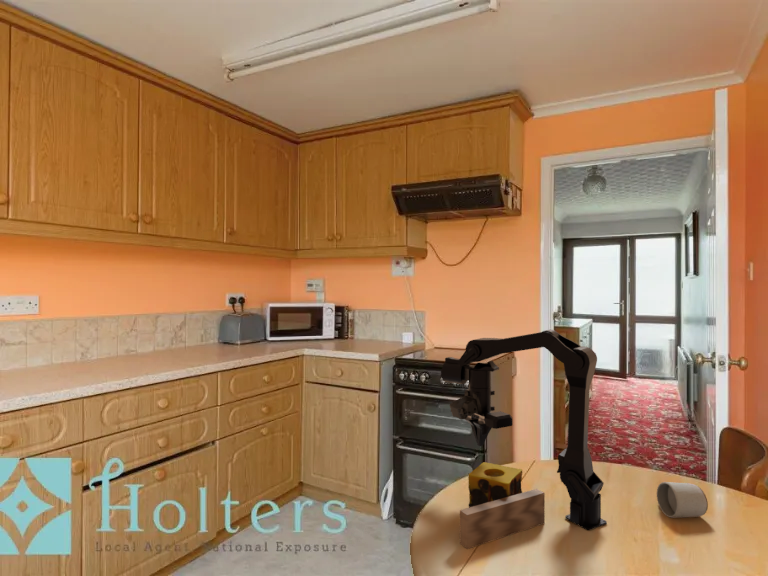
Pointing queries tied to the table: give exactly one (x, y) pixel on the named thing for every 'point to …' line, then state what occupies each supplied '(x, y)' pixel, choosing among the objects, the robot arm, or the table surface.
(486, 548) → the table surface
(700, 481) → the table surface
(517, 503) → the brown wooden board
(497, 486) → the spotted yellow cube
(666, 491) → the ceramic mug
